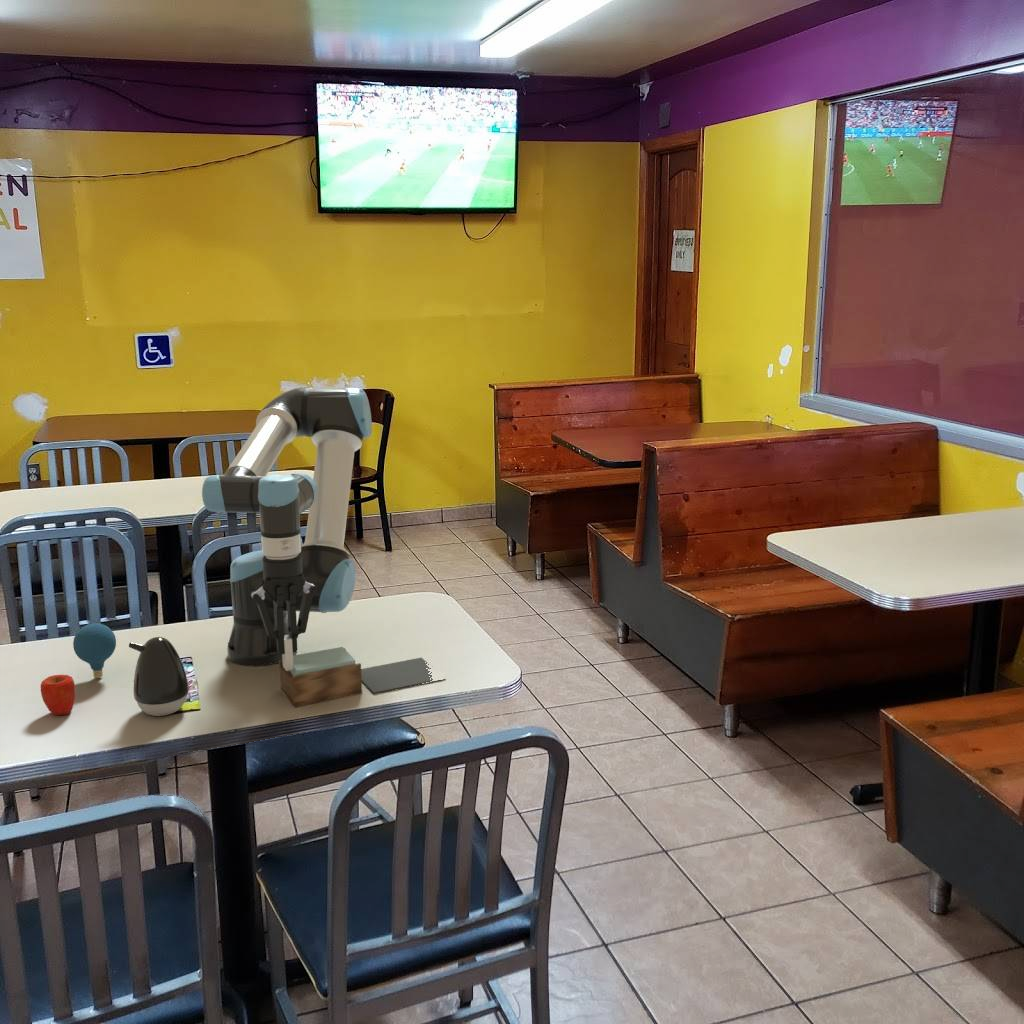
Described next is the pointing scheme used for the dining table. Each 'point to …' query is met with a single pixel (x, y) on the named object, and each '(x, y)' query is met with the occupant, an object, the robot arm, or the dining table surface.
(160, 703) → the pump dispenser
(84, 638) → the light bulb
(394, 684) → the mat
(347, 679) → the box
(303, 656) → the lid
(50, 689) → the apple
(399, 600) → the dining table surface
